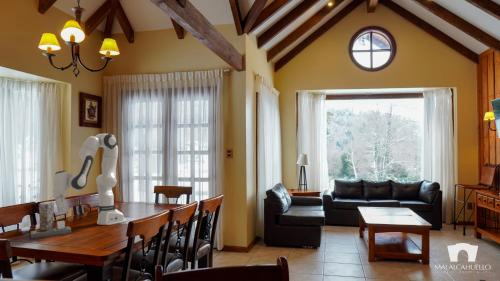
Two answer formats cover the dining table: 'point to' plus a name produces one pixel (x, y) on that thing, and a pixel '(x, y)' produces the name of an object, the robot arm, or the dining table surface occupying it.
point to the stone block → (46, 215)
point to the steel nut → (60, 225)
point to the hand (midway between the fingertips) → (60, 213)
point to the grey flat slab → (50, 232)
